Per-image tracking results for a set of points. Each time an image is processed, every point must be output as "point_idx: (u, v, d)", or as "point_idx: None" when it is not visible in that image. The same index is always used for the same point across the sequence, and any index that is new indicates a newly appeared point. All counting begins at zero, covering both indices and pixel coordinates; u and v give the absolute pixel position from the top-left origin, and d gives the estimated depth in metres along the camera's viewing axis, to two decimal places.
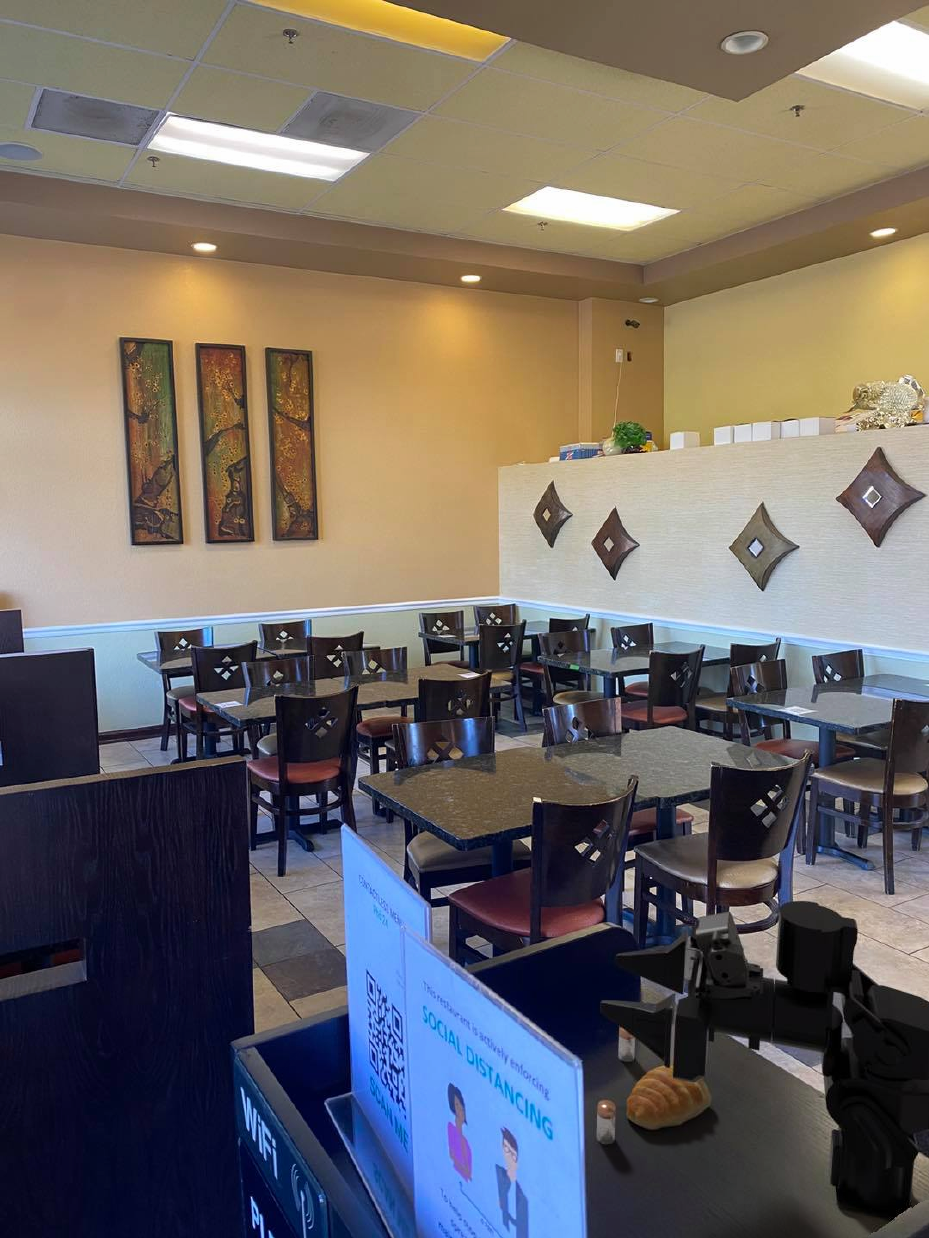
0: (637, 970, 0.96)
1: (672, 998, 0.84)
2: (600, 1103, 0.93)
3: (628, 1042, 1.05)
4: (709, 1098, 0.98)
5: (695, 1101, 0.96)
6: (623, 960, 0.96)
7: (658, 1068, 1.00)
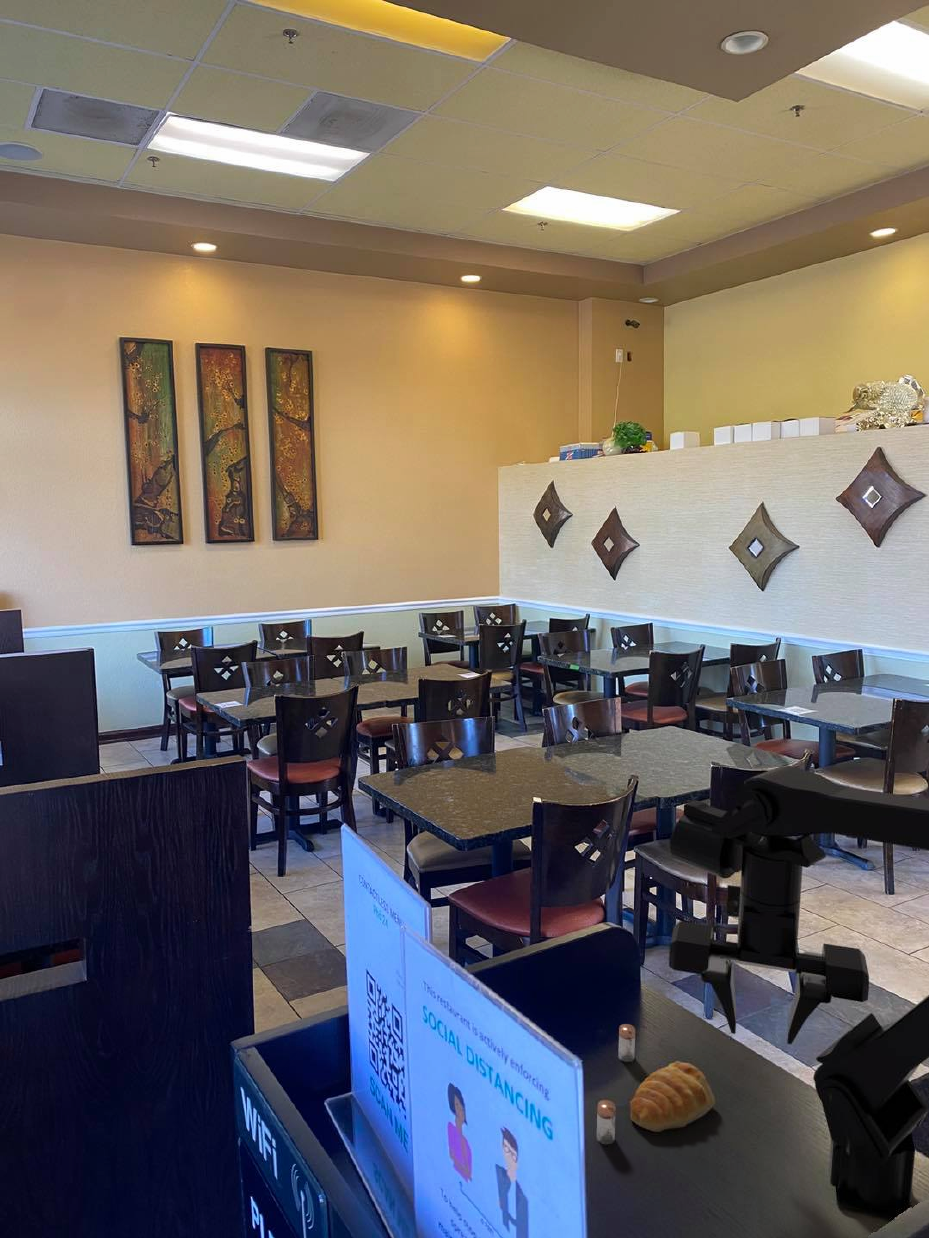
0: (789, 1025, 0.92)
1: None
2: (600, 1103, 0.93)
3: (628, 1042, 1.05)
4: (713, 1099, 0.98)
5: (699, 1102, 0.96)
6: (787, 1033, 0.93)
7: (661, 1070, 1.00)
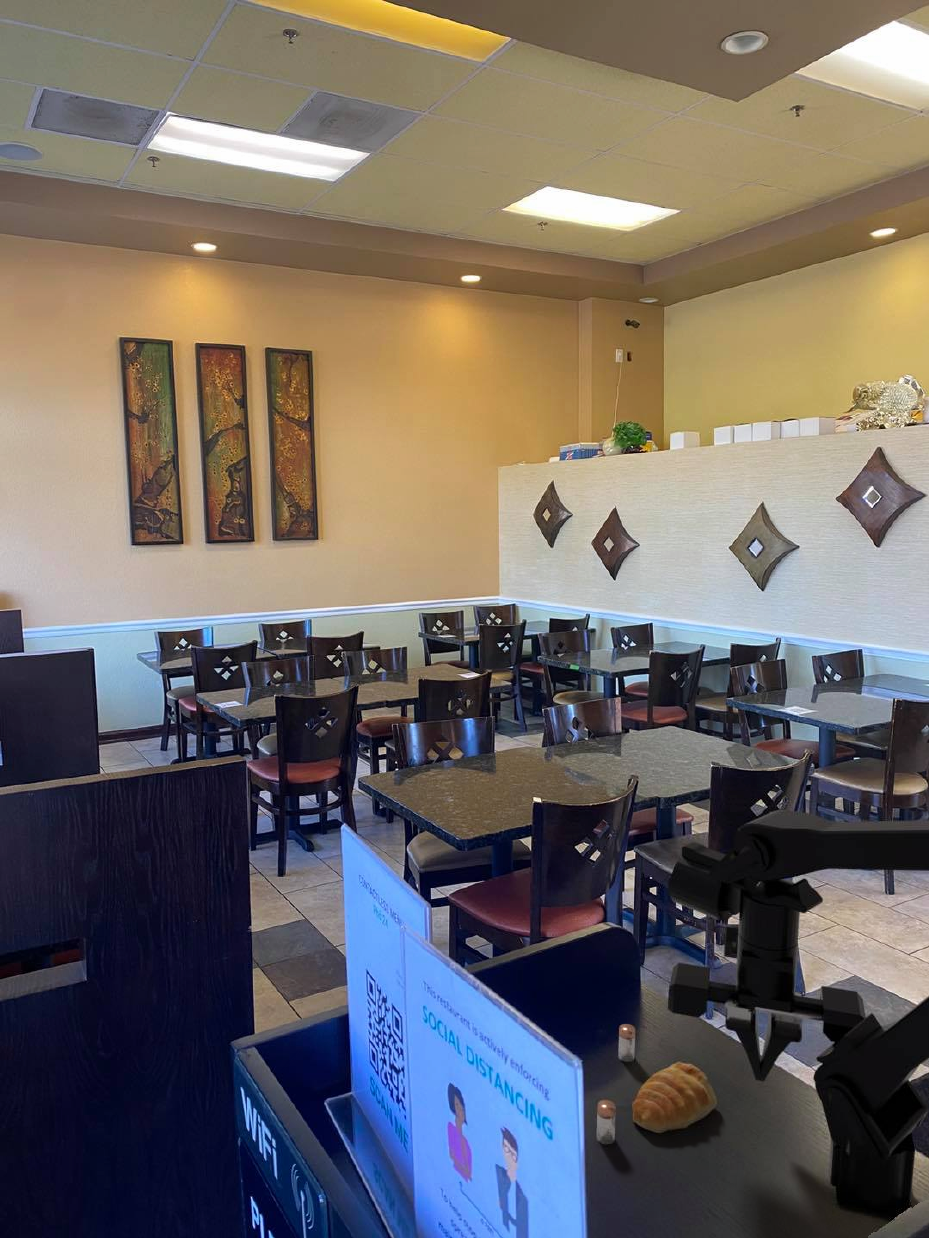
0: (762, 1062, 0.94)
1: None
2: (600, 1103, 0.93)
3: (628, 1042, 1.05)
4: (714, 1100, 0.98)
5: (701, 1103, 0.96)
6: None
7: (663, 1071, 1.00)
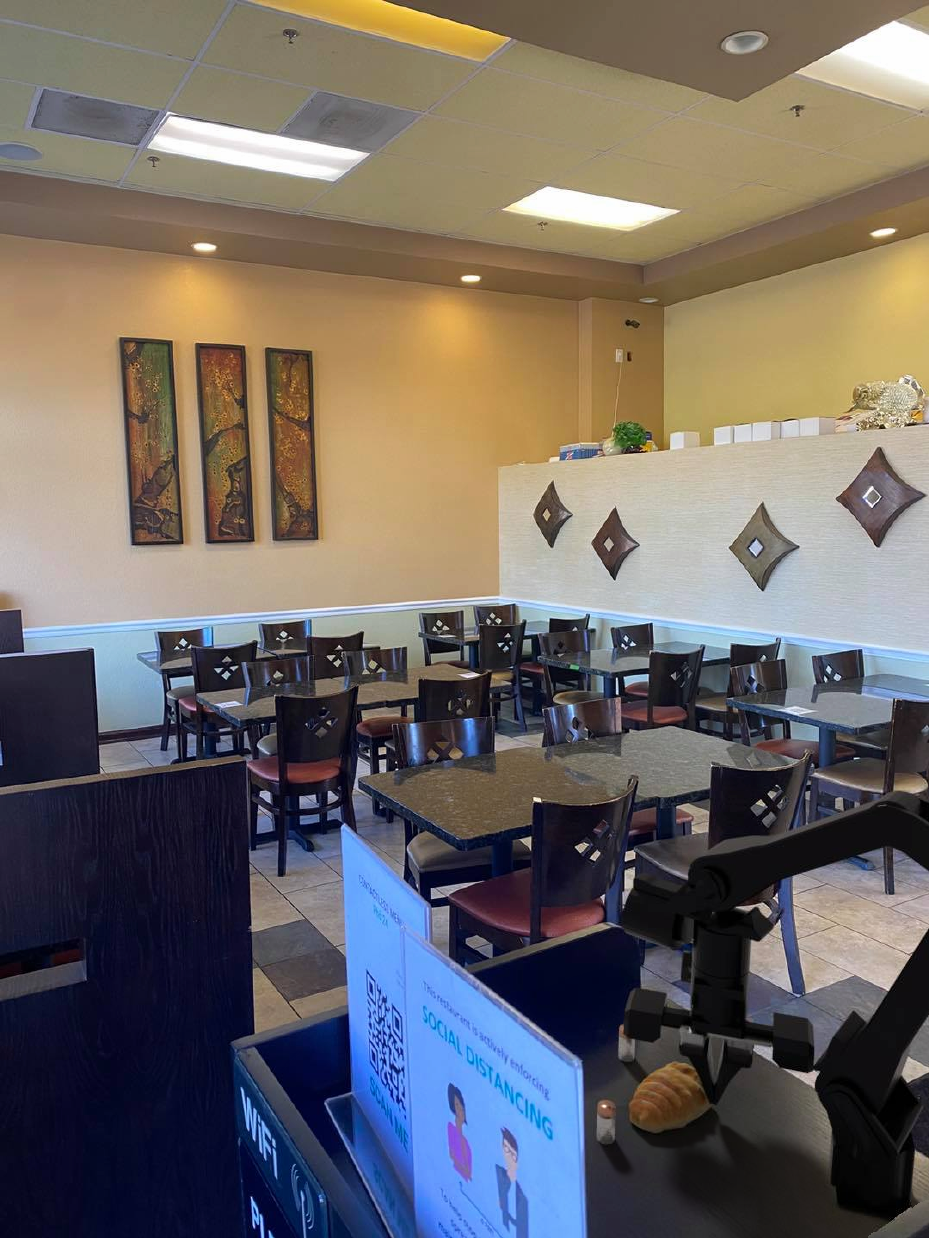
0: (714, 1087, 0.96)
1: None
2: (600, 1103, 0.93)
3: (628, 1042, 1.05)
4: None
5: (698, 1102, 0.96)
6: None
7: (659, 1071, 1.00)
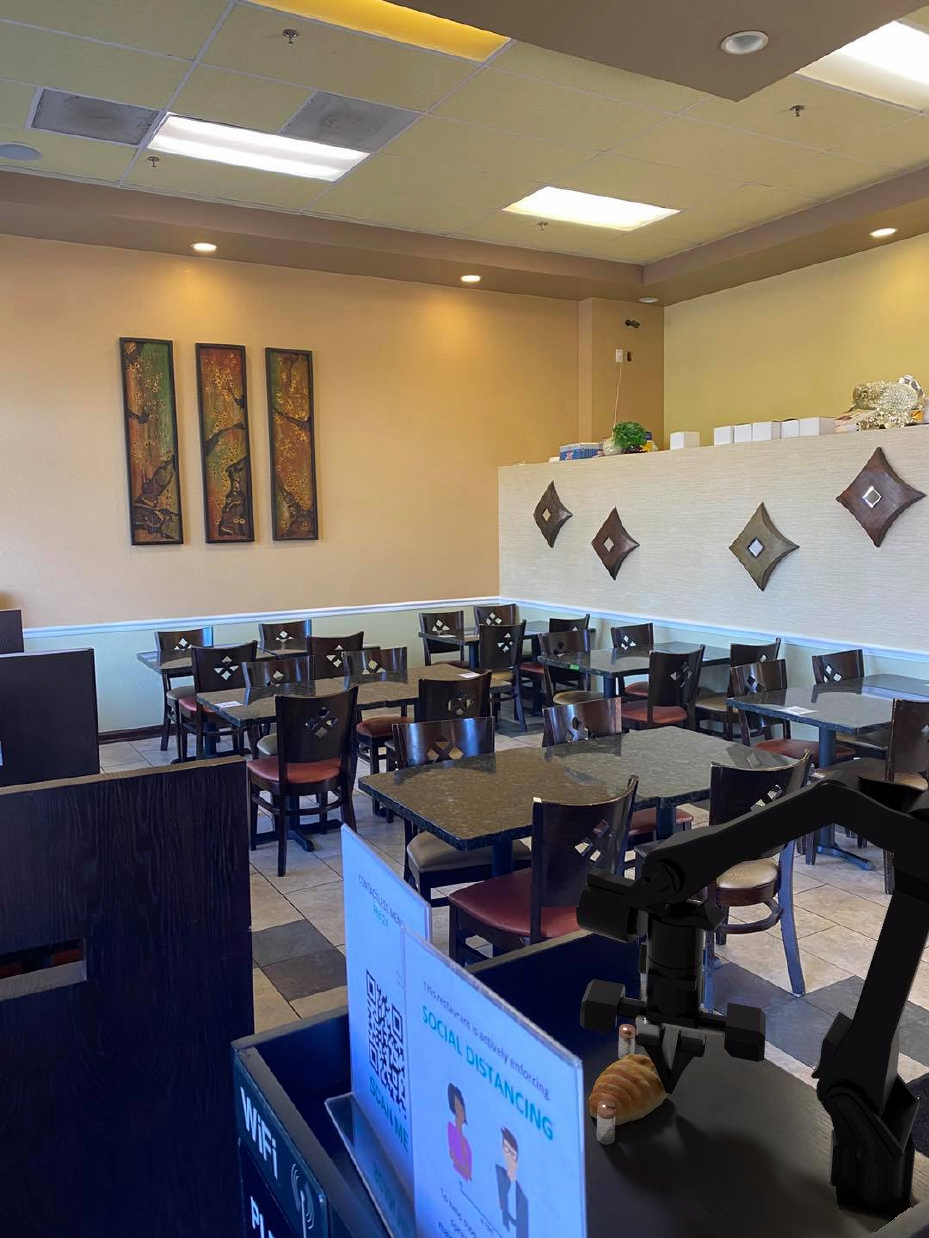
0: (669, 1076, 0.97)
1: None
2: (600, 1103, 0.93)
3: (628, 1042, 1.05)
4: None
5: (656, 1092, 0.98)
6: None
7: (616, 1063, 1.01)
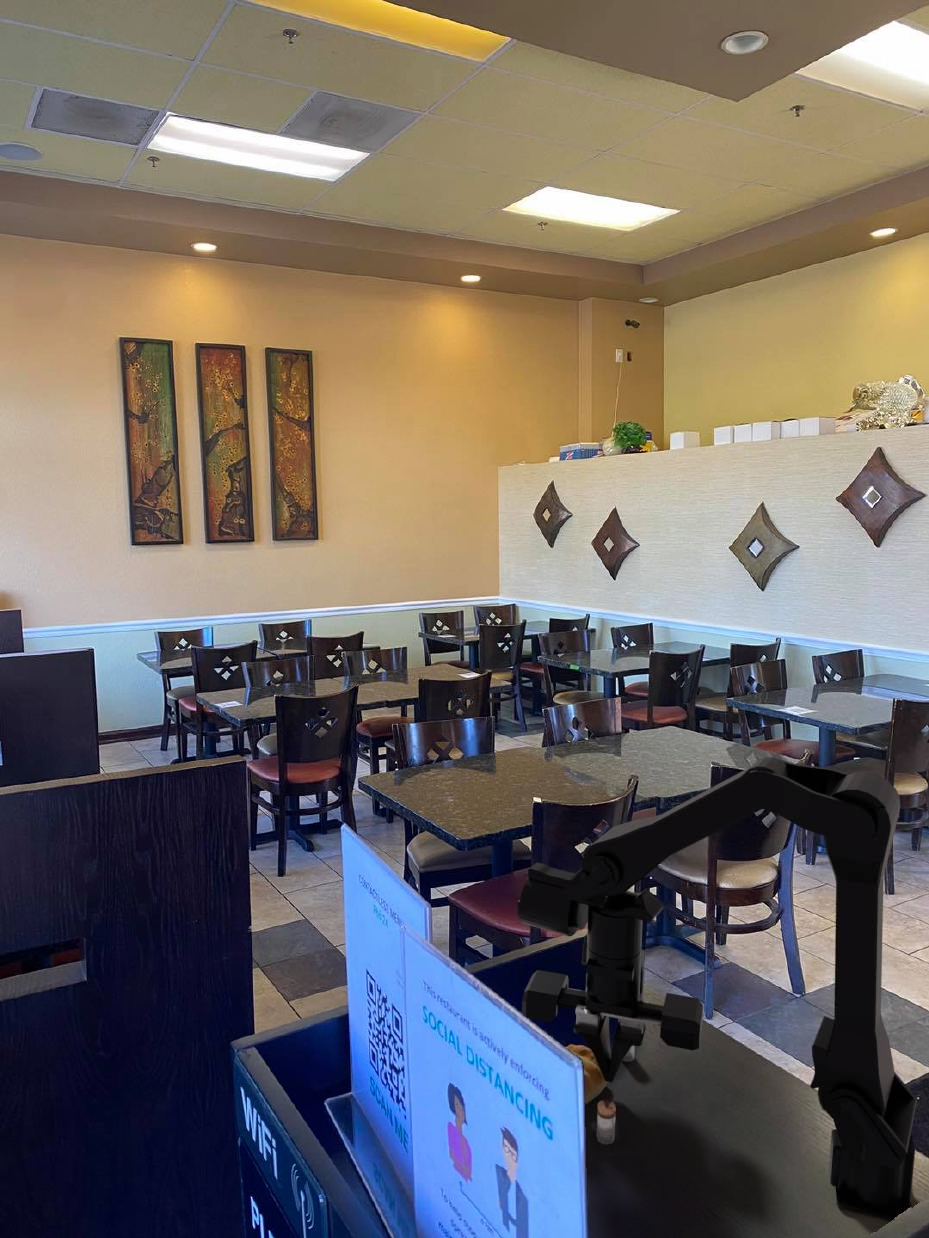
0: None
1: None
2: (600, 1103, 0.93)
3: None
4: None
5: (595, 1082, 0.99)
6: None
7: None
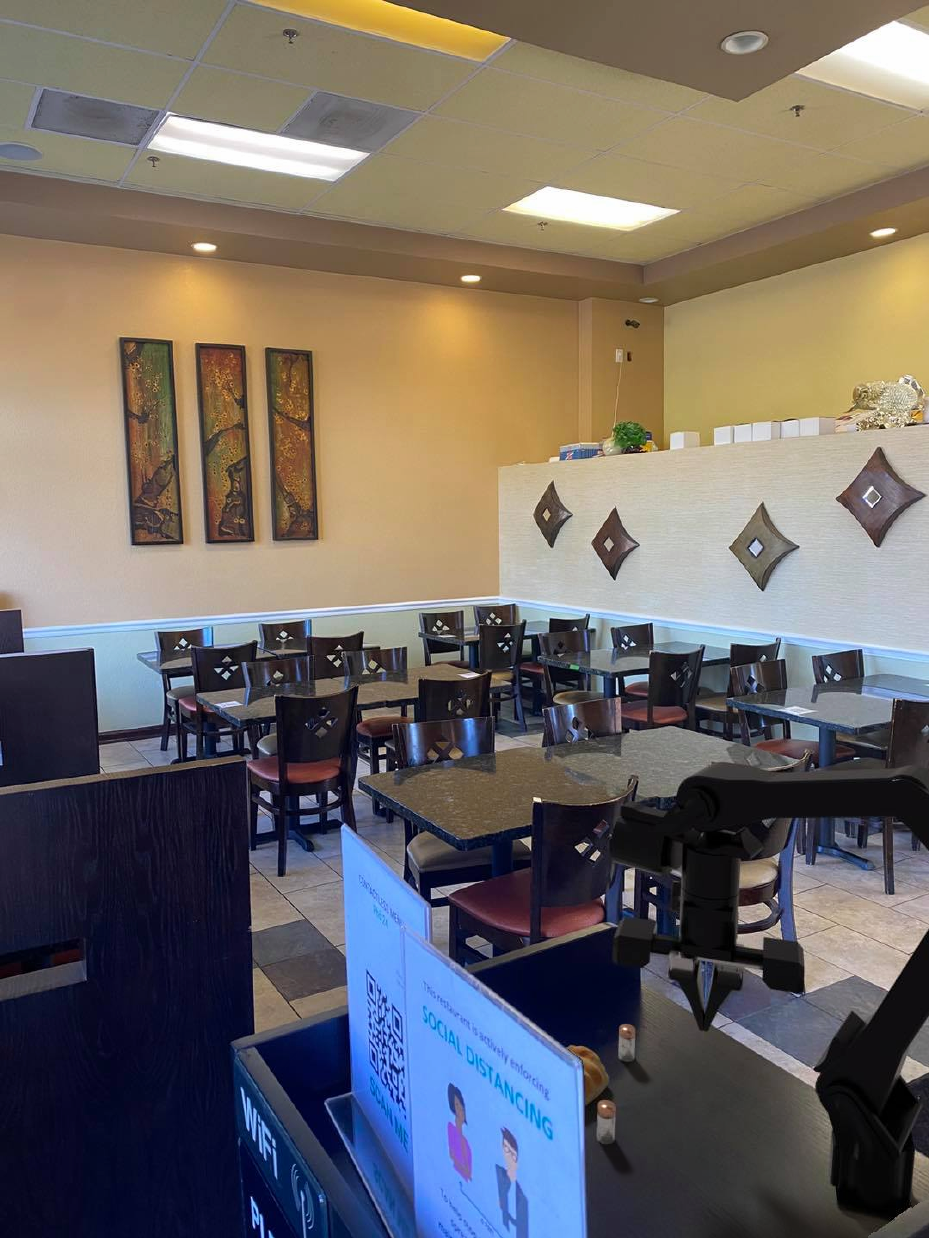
0: (705, 1013, 0.95)
1: None
2: (600, 1103, 0.93)
3: (628, 1042, 1.05)
4: (607, 1078, 1.01)
5: (596, 1082, 0.99)
6: None
7: None
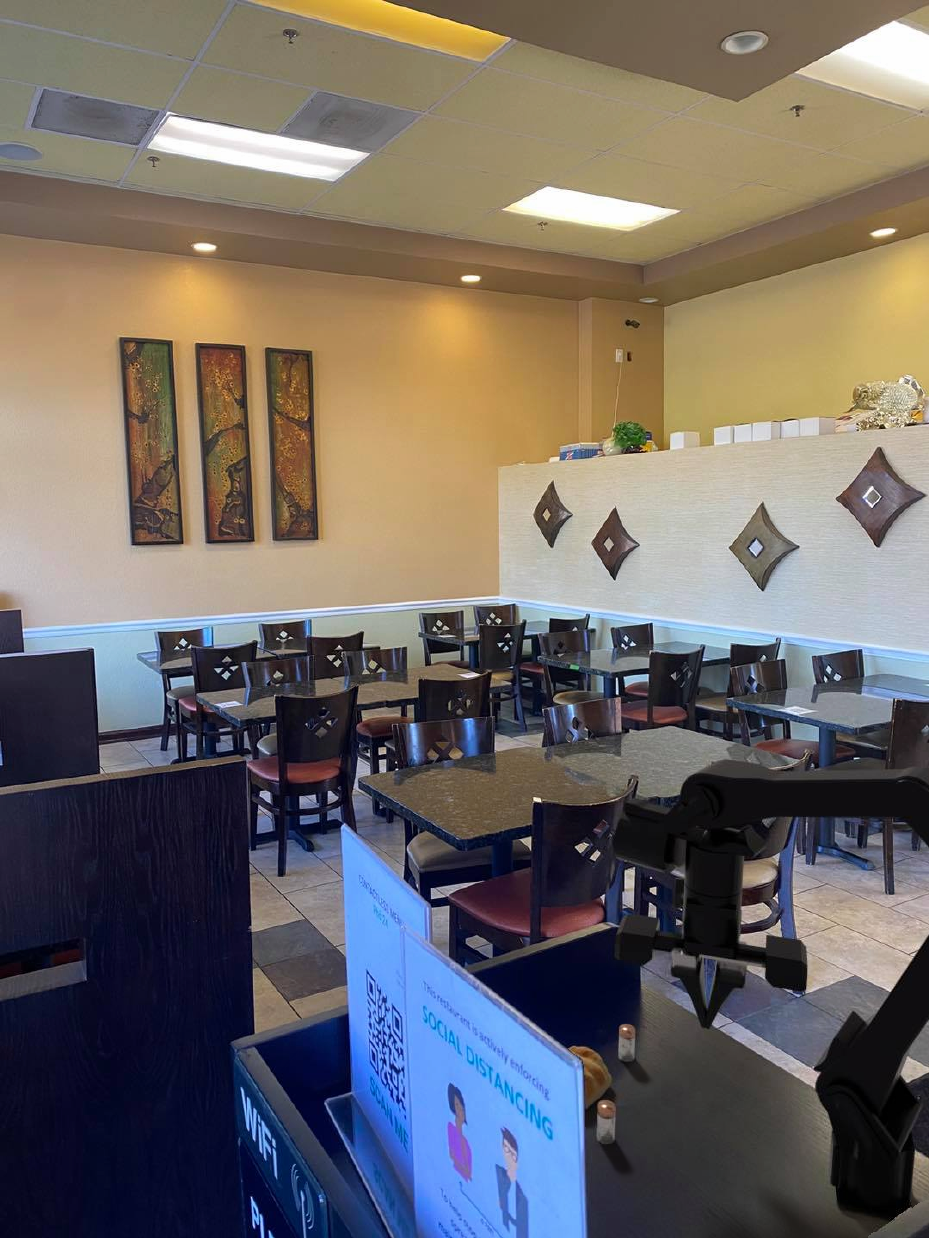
0: (707, 1010, 0.95)
1: None
2: (600, 1103, 0.93)
3: (628, 1042, 1.05)
4: (610, 1078, 1.01)
5: (599, 1083, 0.99)
6: None
7: None
